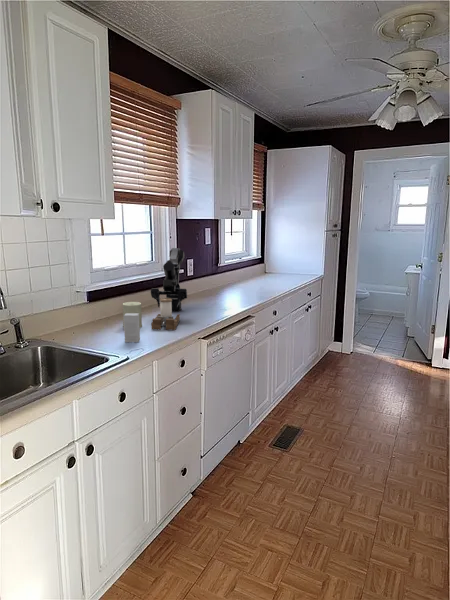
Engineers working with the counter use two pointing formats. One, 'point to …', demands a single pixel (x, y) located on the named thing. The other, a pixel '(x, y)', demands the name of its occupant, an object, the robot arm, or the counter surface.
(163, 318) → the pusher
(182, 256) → the robot arm
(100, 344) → the counter surface
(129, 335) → the skincare box
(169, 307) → the jar
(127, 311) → the can
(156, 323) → the brown boxy piece
